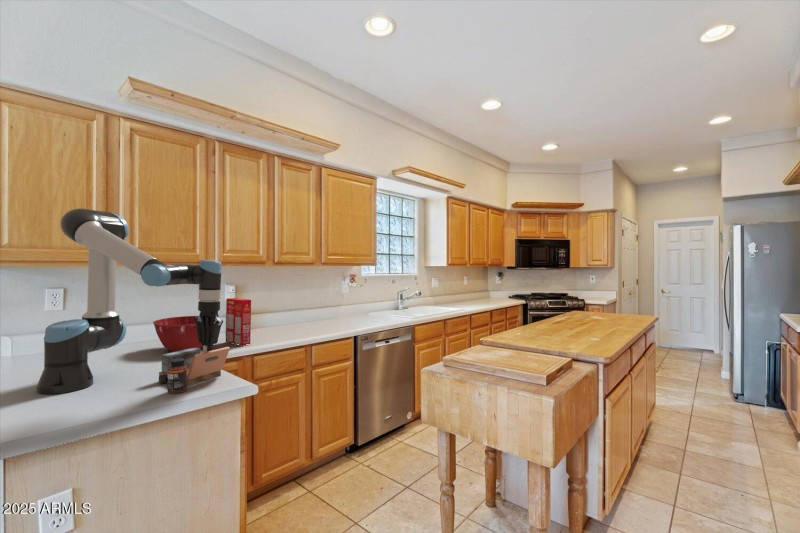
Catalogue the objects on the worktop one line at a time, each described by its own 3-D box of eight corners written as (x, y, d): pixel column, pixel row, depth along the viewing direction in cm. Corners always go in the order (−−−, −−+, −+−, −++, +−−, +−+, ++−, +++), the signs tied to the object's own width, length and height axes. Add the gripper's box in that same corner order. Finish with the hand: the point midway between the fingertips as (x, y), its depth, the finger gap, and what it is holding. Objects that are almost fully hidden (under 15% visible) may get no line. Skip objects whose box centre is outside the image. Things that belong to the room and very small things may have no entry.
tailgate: (189, 380, 137) (197, 356, 135) (186, 378, 138) (194, 354, 136) (223, 370, 151) (231, 348, 149) (220, 368, 151) (228, 346, 150)
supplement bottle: (183, 387, 137) (183, 356, 137) (189, 391, 133) (190, 359, 133) (164, 391, 133) (165, 359, 133) (171, 395, 129) (171, 362, 129)
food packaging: (250, 344, 209) (251, 299, 208) (241, 346, 204) (242, 300, 204) (234, 341, 216) (234, 297, 216) (225, 342, 212) (226, 298, 212)
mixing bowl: (188, 358, 177) (189, 325, 177) (137, 353, 183) (138, 322, 183) (227, 345, 205) (227, 317, 205) (182, 342, 211) (182, 314, 211)
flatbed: (180, 388, 136) (180, 360, 136) (155, 382, 142) (155, 356, 142) (223, 374, 153) (223, 350, 153) (199, 370, 159) (199, 346, 159)
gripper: (229, 301, 145) (227, 362, 145) (206, 298, 150) (203, 357, 150) (213, 302, 138) (210, 366, 138) (189, 299, 143) (186, 361, 143)
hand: (207, 361), depth 144 cm, fingers closed
